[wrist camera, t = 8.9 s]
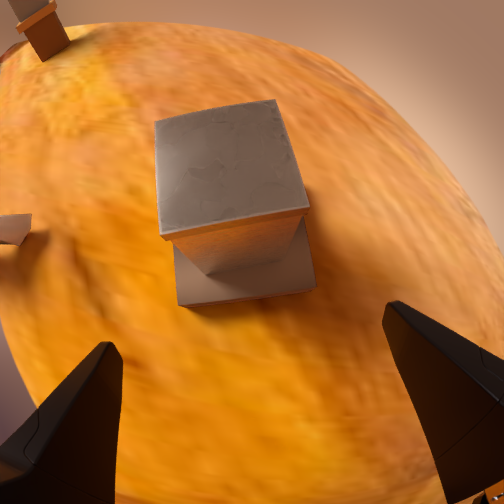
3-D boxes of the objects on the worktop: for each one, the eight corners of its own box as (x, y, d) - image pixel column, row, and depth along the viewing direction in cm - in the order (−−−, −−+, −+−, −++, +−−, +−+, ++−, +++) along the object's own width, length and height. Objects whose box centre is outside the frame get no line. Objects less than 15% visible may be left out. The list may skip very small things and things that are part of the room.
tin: (283, 261, 20) (310, 206, 11) (204, 277, 20) (159, 235, 10) (267, 190, 22) (275, 99, 12) (193, 203, 21) (154, 121, 12)
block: (309, 292, 23) (316, 286, 20) (187, 308, 22) (178, 305, 19) (288, 183, 25) (291, 165, 22) (179, 197, 25) (171, 182, 22)
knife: (39, 65, 34) (-14, -28, 5) (41, 58, 35) (-9, -31, 6) (72, 43, 35) (26, -57, 6) (73, 38, 36) (30, -58, 7)
